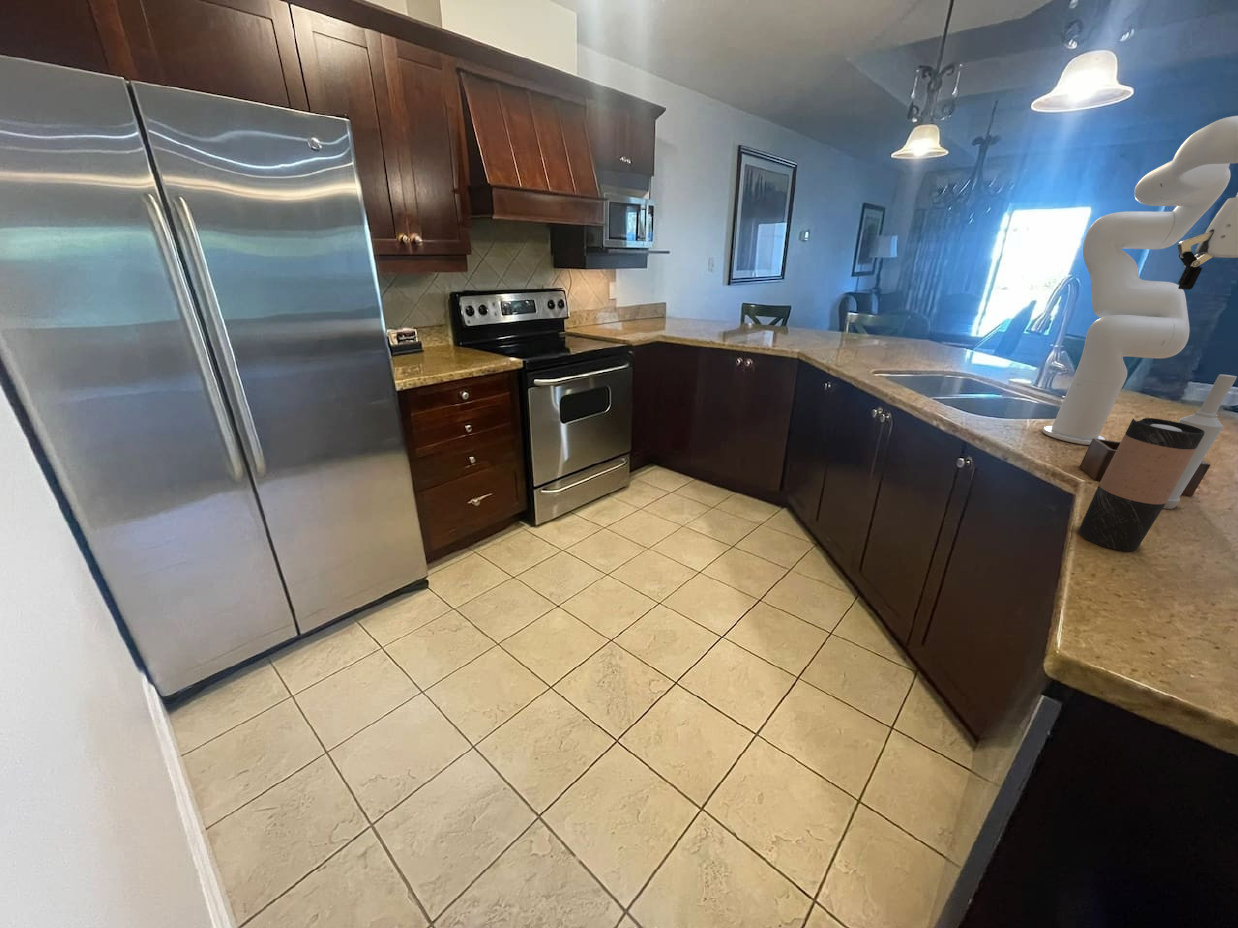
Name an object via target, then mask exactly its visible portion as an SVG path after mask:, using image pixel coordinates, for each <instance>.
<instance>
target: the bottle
mask: <svg viewBox="0 0 1238 928" xmlns="http://www.w3.org/2000/svg"><path fill="white" fill-rule="evenodd" d="M1237 378H1238V376H1236V375H1230V374H1218V376H1217V377H1216V379H1215V381H1214V382H1213V386H1212V387H1211V389H1210V391H1209V393H1208V395H1207V396H1206V398H1205V400H1204V402H1203V404H1202V405H1201V406H1200V409H1199V410H1197V411H1195V412H1194V413H1193V414H1190V415H1187V416H1183V417H1181V418H1180V419H1179V421H1178V423H1183V424H1187V425H1190V426H1194V427H1197V428H1199V429H1202V430H1203V431H1204V432H1205V433H1204V436H1203V438H1202V439H1201V441H1200V443H1199V445H1198V447H1197V448H1196V450H1195V452H1194V454H1193V456H1192V457H1191V459H1190V461H1189V463H1188V465H1187V466H1186V468H1185V470H1184V472H1183V474H1182V475H1181V477H1180V479H1179V481H1178V483H1177V484H1176V486H1175V488H1174V490H1173V492H1172V493H1171V495H1170V497H1169V499H1168V501H1167V502H1166V504H1165V506H1164V507H1163V509H1165V510H1173V509H1175V508H1176V507H1177V506H1178V504H1180V502H1181V499H1180V497H1181V496H1182V495H1181V494H1182V492H1183V491H1184V489H1185V488H1186V486H1187V484H1188V483H1189V481H1190V480H1191V478H1192V476H1193V475H1194V473H1195V472H1196V470H1197V468H1198V467H1199V465H1200V464H1201V462H1202V460H1203V461H1204V459H1205V457H1206V456H1207V455H1208V452H1209V451H1210V449H1211V448H1212V446H1213V445H1214V443H1215V441H1216V440H1217V438H1218V436H1219V435H1220V433H1221V431H1222V430H1223V428H1224V425H1223V424H1222V422H1221V421H1220V420H1219V419H1218V417H1219V415H1218V414H1217V412H1218V411H1219V410H1220V407H1221V405H1222V404H1223V402H1224V401H1225V399H1226V397H1227V395H1228V393H1229V392H1230V390H1231V389H1232V387H1233V385H1234V384H1235V381H1236V380H1237Z"/></svg>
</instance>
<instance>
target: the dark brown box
mask: <svg viewBox="0 0 1238 928" xmlns="http://www.w3.org/2000/svg"><path fill="white" fill-rule="evenodd" d="M1120 443H1121V441H1116V440H1109V439H1105V440H1102V439H1095V438H1093V439H1092V441H1091V443H1090V445H1088V447H1087V449H1086V451H1085V454H1084V456H1083V457H1082V460H1081V462H1080V464H1079V466H1078V467H1079V468H1080V469H1081V470H1082V471H1083V472H1084V473H1086V474H1087V475H1088V477H1090V478H1091V479H1092V480H1093V481H1098V482H1100V481H1101V479H1102V478H1103V476H1104V474H1105V472H1106V470H1107V468H1108V466H1109V464H1110V462H1111V460H1112V458H1113V456H1114V454H1115V452H1116V450H1117V448H1118V447H1119V445H1120ZM1210 467H1211V463H1209V462H1206V461H1205V460H1204V459H1203V460H1202V462H1201V464H1200V465H1199V467H1198V468H1197V470H1196V472H1195V473H1194V475H1193V476H1192V478H1191V480H1190V481H1189V483H1188V484H1187V486H1186V488H1185V489H1184V491H1183V492H1182V494H1181V496H1188V497H1193V496H1194V494H1195V492H1196V491H1197V489H1198V487H1199V485H1200V484H1201V483H1202V480H1203V479H1204V477H1205V475H1206V474H1207V472H1208V471H1209V469H1210Z"/></svg>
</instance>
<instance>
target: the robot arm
mask: <svg viewBox="0 0 1238 928" xmlns="http://www.w3.org/2000/svg"><path fill="white" fill-rule="evenodd" d="M1232 164H1238V115H1232V116H1227V117H1224V118H1221V119H1217V120H1215V121H1213V122H1211V123H1209V124H1207V125H1205V126H1204V127H1202V128H1200V129H1198V130H1196V131H1194V132H1193V133H1192V134H1191V135H1190V136H1188V137H1187V138H1186V139H1185V140H1184V141H1183V143H1182V144H1181V145H1180V147H1179V148H1178V149H1177V151H1176V152H1175V155H1174V156H1173V159H1172V160H1169V161H1168V162H1166V163H1164V164H1162V165H1160V166H1158V167H1156V168H1155V169H1152V170H1151V171H1149V172H1148V173H1146V174H1145V175H1144V176H1143V177H1142V178H1141V179H1139V181H1138V182H1137V183H1136V185H1135V188H1134V192H1133V194H1134V198H1135V200H1136V201H1137V202H1138V203H1140V204H1142V205H1145V206H1149V207H1150V206H1151V207H1174V209H1173V210H1172V211H1143V210H1142V211H1135V210H1134V211H1132V210H1131V211H1129V210H1128V211H1118V212H1112V213H1108V214H1104V215H1102V216H1100V217H1099V218H1097V219H1096V220H1095V221H1094V222H1093V223H1092V224H1091V225H1090V227H1089V228H1088V230H1087V232H1086V234H1085V237H1084V241H1083V246H1082V256H1083V261H1084V263H1085V267H1086V268H1087V271H1088V273H1089V274H1088V275H1089V278H1090V292H1091V293H1090V294H1091V307H1092V312H1093V313H1094V315H1095V316H1096V317H1098V319H1096V320H1095V321H1093V322H1092V323H1091V325H1090V326H1089V328H1088V329H1087V331H1086V335H1085V341H1084V344H1083V345H1084V346H1083V349H1082V353H1081V356H1080V360H1079V363H1078V365H1077V367H1076V370H1075V372H1074V375H1073V376H1072V379H1071V382H1070V384H1069V386H1068V389H1067V392H1065V393H1066V394H1065V396H1064V398H1063V400H1062V403H1061V405H1060V407H1059V409H1058V412H1057V414H1056V416H1055V419H1054V422H1053V424H1052V425H1046V426H1044V427H1043V428H1042V433H1043V434H1044V435H1046V436H1048V437H1051V438H1053V439H1056V440H1060V441H1064V442H1068V443H1072V444H1077V445H1085V446H1089V445H1090V443H1091V441H1092V439H1093V438H1095V439H1102V440H1106V438H1105V437H1104V436H1102V435H1101V434H1102V433H1101V432H1102V430H1103V428H1104V427H1105V424H1106V422H1107V420H1108V418H1109V416H1110V414H1111V413H1112V410H1113V408H1114V407H1115V404H1116V401H1117V400H1118V397H1119V395H1120V393H1121V391H1122V389H1123V387H1124V385H1125V383H1126V380H1127V378H1128V368H1127V366H1126V363H1125V360H1124V357H1131V358H1141V359H1142V358H1143V359H1144V358H1145V359H1168V358H1171V357H1175V356H1177V355H1178V354H1179V353H1180V352H1182V350H1183V349H1185V347H1186V345H1187V343H1188V341H1189V337H1190V330H1191V329H1190V319H1189V311H1188V306H1187V305H1188V304H1187V298H1186V293H1185V290H1186V291H1187V290H1188V291H1189V290H1192V289H1193V288H1194V286H1195V284H1196V283H1197V280H1198V278H1199V277H1200V274H1201V272H1202V270H1203V267H1201V265H1202V264H1205V262H1207V261H1209V260H1211V259H1212V258H1223V259H1225V258H1226V259H1238V192H1237V193H1236V195H1235V197H1230V198H1229V197H1228V198H1227V200H1226V201H1225V202H1224V203H1223V204H1222V205H1221V207H1220V209H1218V211H1217V213H1216V214H1215V216H1214V217H1213V219H1212V220H1211V222H1210V224H1209V225H1208V227H1207V228H1206V230H1205V231H1204V233H1201V234H1199V235H1196V236H1195V235H1194V236H1193V237H1190V238H1187V239H1184V240H1181V239H1182V238H1183V237H1185V235H1186V234H1187V233H1188V232H1189V231H1190V230H1191V228H1193V226H1194V225H1195V224H1196V223H1197V222H1198V221H1199V220H1200V219H1201V218H1202V217H1203V215H1205V214H1206V212H1208V210H1210V208H1211V207H1212V206H1213V205H1214V204H1215V202H1217V200H1219V198H1220V197H1221V196H1222V195H1223V193H1224V191H1225V190H1226V189H1227V187H1228V186H1229V183H1230V180H1231V176H1232V175H1231V170H1230V165H1232ZM1180 240H1181V241H1180ZM1176 243H1177V250H1178V251H1177V252H1178V258H1179V259H1180V261H1181V263H1182V265H1183V267H1184V270H1183V272H1182V274H1181V276H1180V278H1179V280H1178V284H1177V283H1175V282H1171V281H1160V280H1158V281H1156V280H1145V279H1142V278H1141V277H1140V274H1139V266H1138V264H1137V262H1136V260H1135V259H1134V258H1133V257H1132V256H1131V255H1130V254H1128V253H1127V252H1126V251H1125V250H1124V249H1126V250H1163V249H1167V248H1170V247H1172V246H1173V245H1175V244H1176ZM1194 245H1197V246H1196V249H1195V251H1194V252H1195V254H1194V253H1193V251H1192V247H1193V246H1194Z"/></svg>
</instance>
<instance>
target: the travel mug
mask: <svg viewBox="0 0 1238 928" xmlns="http://www.w3.org/2000/svg"><path fill="white" fill-rule="evenodd" d="M1204 433H1205V432H1204V431H1203V430H1202V429H1199V428H1197V427H1194V426H1190V425H1187V424H1183V423H1179V421H1173V420H1167V419H1161V418H1155V417H1144V418H1142V419H1141V420H1136V419H1135V418H1132V419H1131V421H1130V424H1129V425H1128V427H1127V429H1126V431H1125V433H1124V435H1123V437H1122V439H1121V441H1120V442H1121V443H1120V445H1119V447H1118V448H1117V450H1116V452H1115V454H1114V456H1113V458H1112V460H1111V462H1110V464H1109V466H1108V468H1107V470H1106V472H1105V474H1104V476H1103V478H1102V479H1101V481H1099V484H1098V486H1097V488H1096V490H1095V492H1094V495H1093V497H1092V499H1091V501H1090V504H1089V505H1088V507H1087V510H1086V512H1085V515H1084V516H1083V519H1082V521H1081V523H1080V526H1079V528H1078V533H1079V535H1080V536H1081V537H1083V538H1084V539H1086V540H1088V541H1090V542H1091V543H1093V544H1095V545H1098V546H1101V547H1105V548H1108V549H1110V550H1115V551H1121V552H1135V551H1136V550H1137V549H1138V548H1139V547H1140V545H1141V544H1142V542H1143V541H1144V539H1145V538H1146V536H1147V535H1148V532H1150V530H1151V529H1152V527H1153V524H1154V523H1155V522H1156V520H1157V518H1158V517H1159V515H1160V514H1161V512H1162V511H1163V509H1164V508H1163V507H1164V506H1165V504H1166V502H1167V501H1168V499H1169V497H1170V495H1171V493H1172V492H1173V490H1174V488H1175V486H1176V484H1177V483H1178V481H1179V479H1180V477H1181V475H1182V474H1183V472H1184V470H1185V468H1186V466H1187V465H1188V463H1189V461H1190V459H1191V457H1192V456H1193V454H1194V452H1195V450H1196V448H1197V447H1198V445H1199V443H1200V441H1201V439H1202V438H1203V436H1204Z"/></svg>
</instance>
